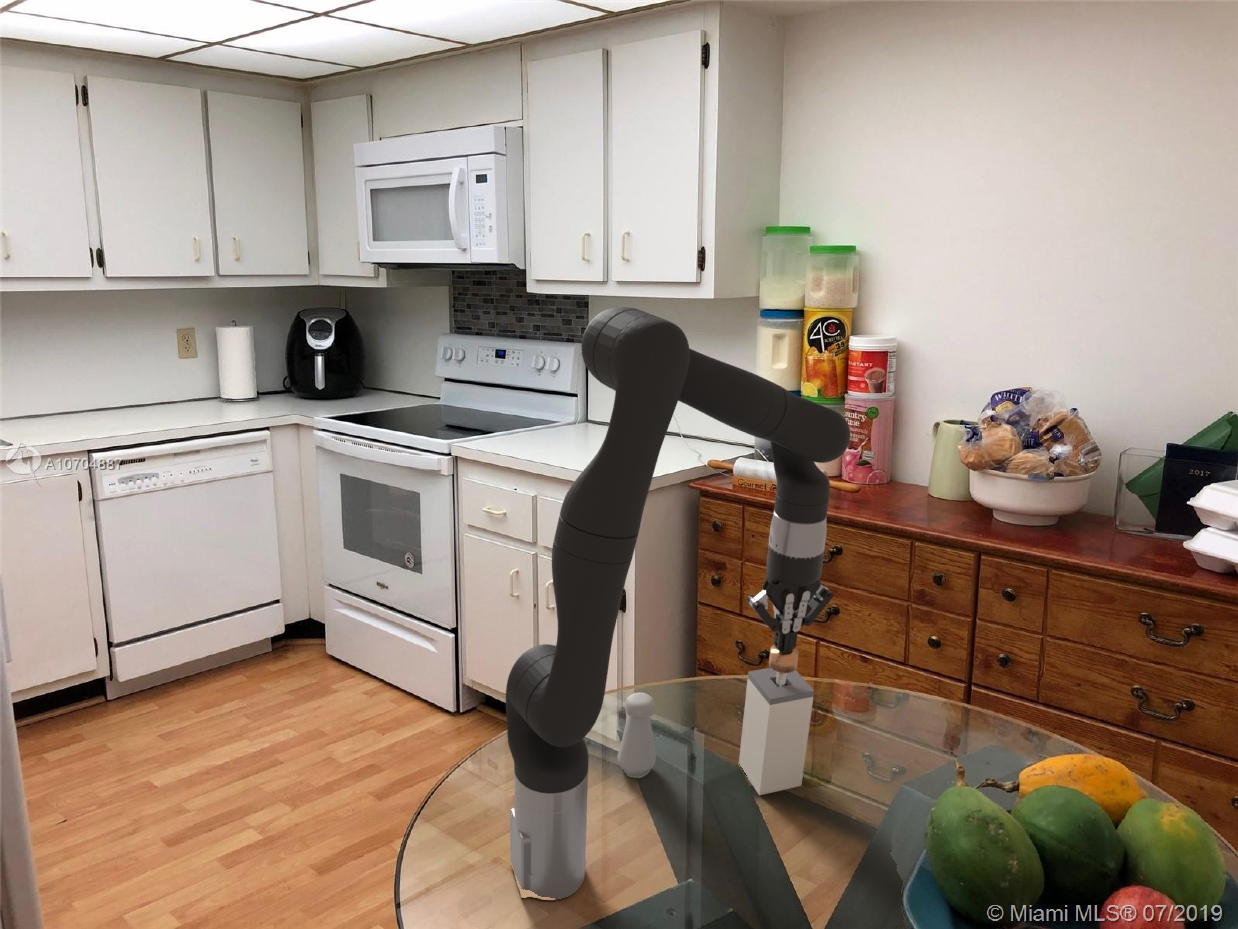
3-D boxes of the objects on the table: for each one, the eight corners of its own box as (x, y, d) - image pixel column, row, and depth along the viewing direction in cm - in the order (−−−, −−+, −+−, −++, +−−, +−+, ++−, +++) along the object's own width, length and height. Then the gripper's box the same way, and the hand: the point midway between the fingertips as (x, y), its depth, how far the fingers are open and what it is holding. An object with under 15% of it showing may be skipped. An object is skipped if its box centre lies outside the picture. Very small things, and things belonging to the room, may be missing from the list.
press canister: (759, 795, 143) (770, 699, 137) (738, 765, 149) (748, 671, 143) (801, 786, 145) (814, 691, 139) (779, 756, 152) (790, 664, 145)
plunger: (766, 762, 143) (778, 661, 136) (752, 743, 147) (763, 645, 140) (792, 756, 144) (805, 656, 138) (778, 738, 148) (790, 640, 142)
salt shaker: (651, 786, 144) (656, 713, 139) (613, 779, 145) (617, 707, 140) (657, 760, 150) (662, 690, 145) (621, 754, 151) (624, 684, 146)
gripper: (765, 561, 127) (754, 673, 134) (853, 549, 131) (838, 658, 138) (740, 536, 134) (730, 644, 140) (825, 525, 138) (811, 630, 144)
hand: (784, 651), depth 139 cm, fingers closed
